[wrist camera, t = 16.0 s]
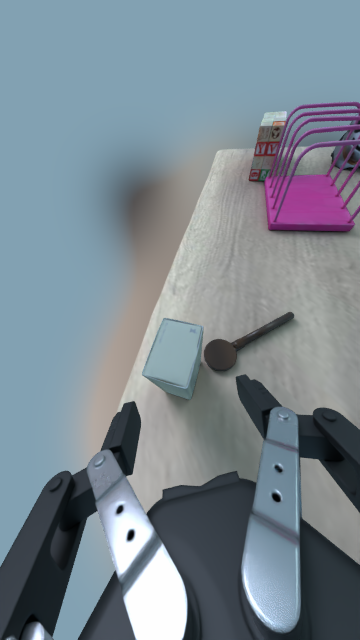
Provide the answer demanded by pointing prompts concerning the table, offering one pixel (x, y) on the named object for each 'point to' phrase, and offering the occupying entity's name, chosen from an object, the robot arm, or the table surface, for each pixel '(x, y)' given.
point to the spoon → (236, 345)
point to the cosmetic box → (175, 357)
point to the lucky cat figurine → (348, 150)
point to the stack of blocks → (267, 145)
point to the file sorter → (311, 180)
